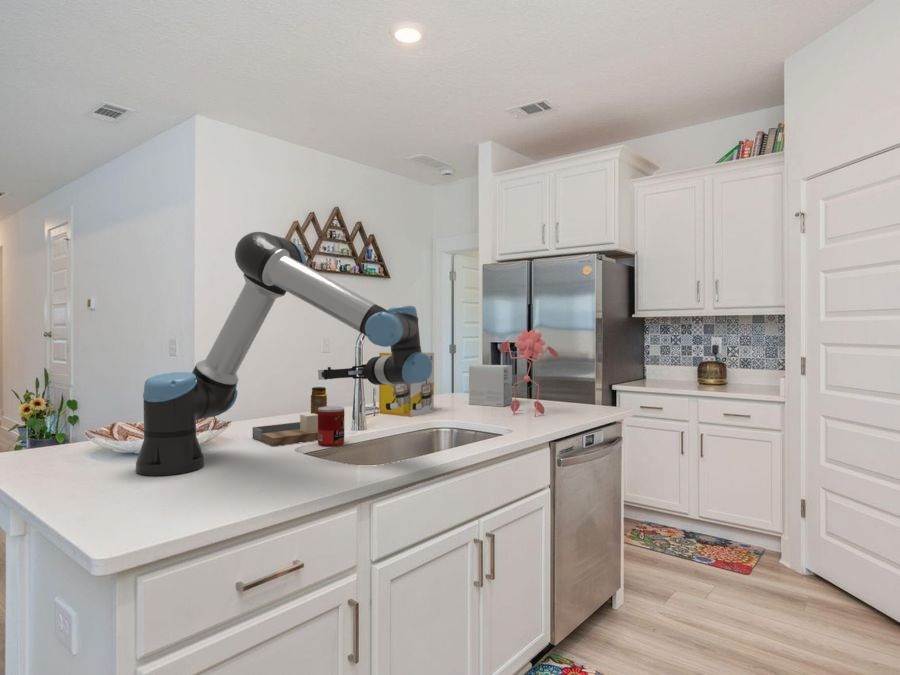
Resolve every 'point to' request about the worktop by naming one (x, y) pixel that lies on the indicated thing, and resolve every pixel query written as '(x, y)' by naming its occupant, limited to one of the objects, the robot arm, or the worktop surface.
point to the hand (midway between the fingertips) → (339, 373)
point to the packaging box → (408, 395)
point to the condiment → (318, 399)
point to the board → (288, 437)
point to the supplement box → (490, 385)
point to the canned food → (331, 426)
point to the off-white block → (309, 422)
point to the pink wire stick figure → (528, 347)
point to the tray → (274, 429)
